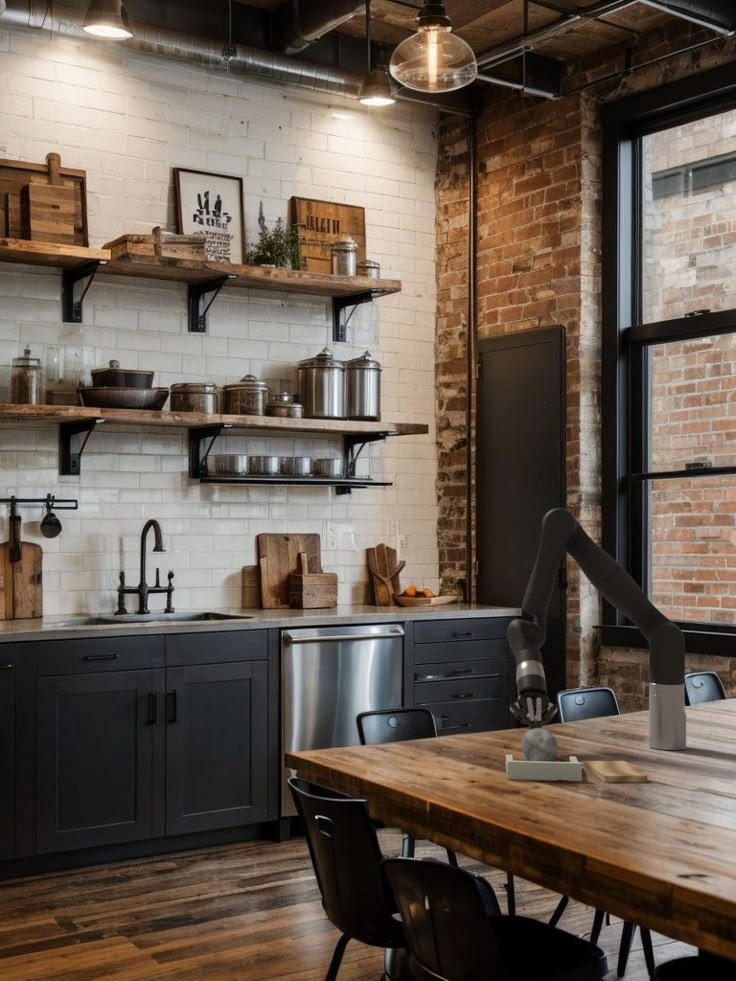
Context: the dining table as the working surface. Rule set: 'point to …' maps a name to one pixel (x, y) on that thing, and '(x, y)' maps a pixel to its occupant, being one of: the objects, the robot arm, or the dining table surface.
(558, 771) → the cradle
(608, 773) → the oak board
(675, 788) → the dining table surface
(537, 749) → the grey stone
